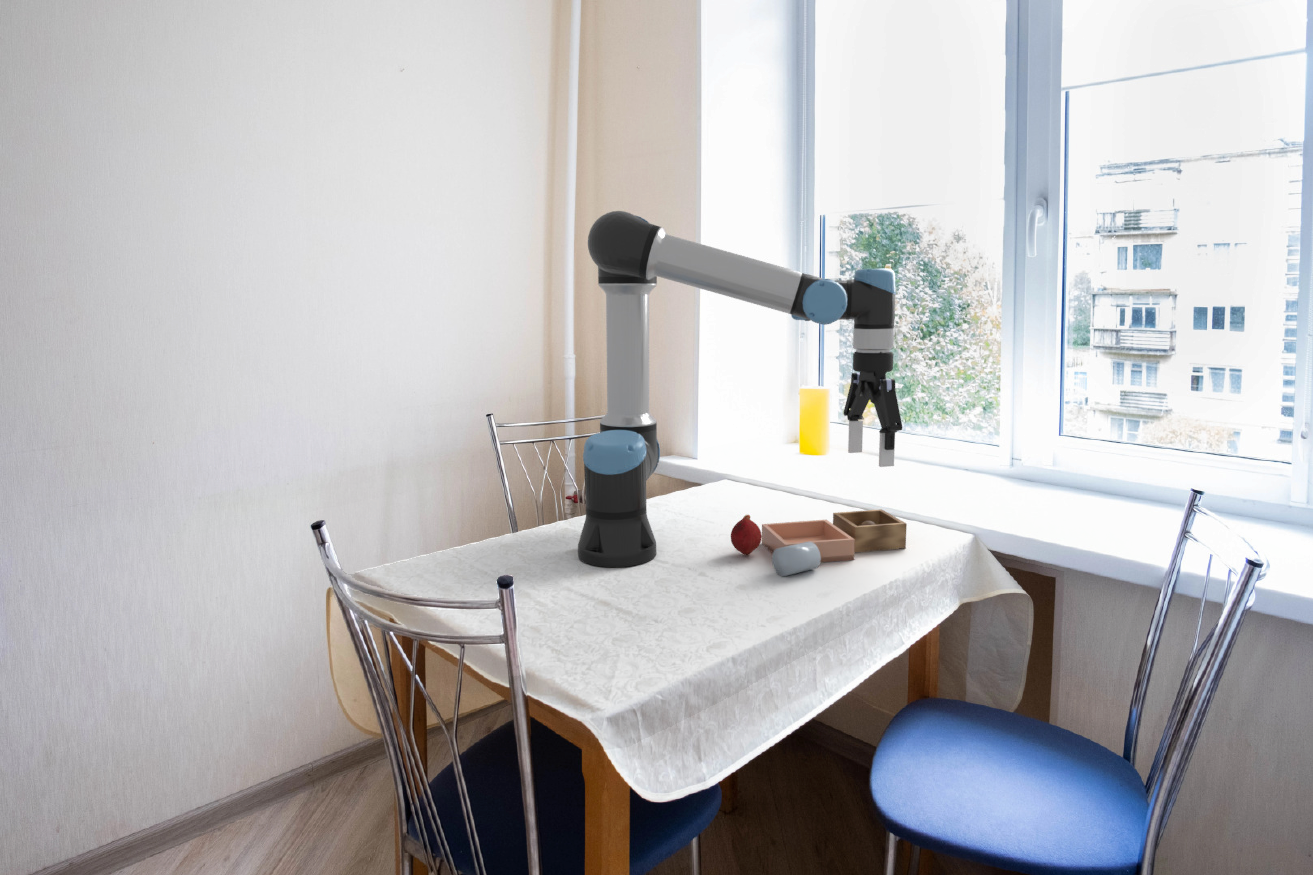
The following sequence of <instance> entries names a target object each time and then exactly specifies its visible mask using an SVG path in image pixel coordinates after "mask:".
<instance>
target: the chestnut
mask: <svg viewBox="0 0 1313 875" xmlns="http://www.w3.org/2000/svg"><path fill="white" fill-rule="evenodd" d="M864 525H876V524H875V523H874V522H872V521H864V522H863V523H862V524H861V525H860V526H864Z"/></svg>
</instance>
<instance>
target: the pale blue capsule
mask: <svg viewBox="0 0 1313 875" xmlns="http://www.w3.org/2000/svg"><path fill="white" fill-rule="evenodd" d="M820 560H821V557H820V552H819V549H818V548H817V546H816V545H815V544H814V543H813V542H810V541H809V542H804V543H799V544H795V545H790V546H786V547H781V548H777V549H775V550H774V552H773V554H772V556H771V561H772V566H773V568H774V571H775V572H776V573H777V574H778V575H779V576H780V577H786V576H790V575H794V574H799V573H802V572H807V571H812V570H815V569H818V567H819V566H820V564H821V563H820Z"/></svg>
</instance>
